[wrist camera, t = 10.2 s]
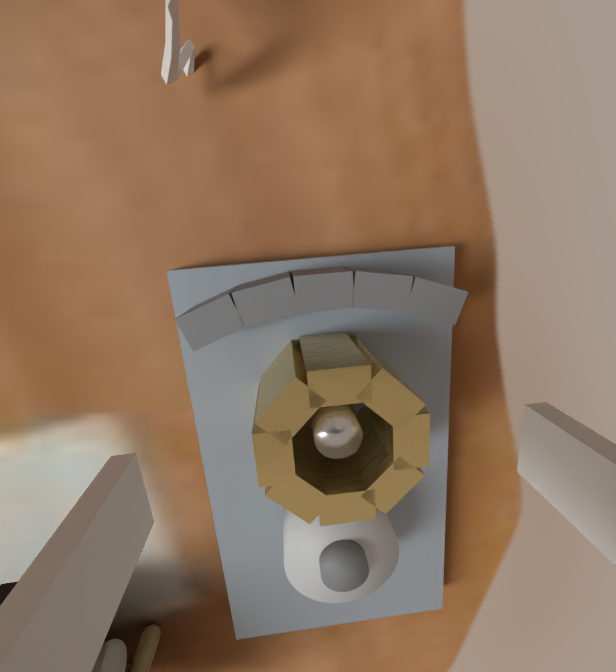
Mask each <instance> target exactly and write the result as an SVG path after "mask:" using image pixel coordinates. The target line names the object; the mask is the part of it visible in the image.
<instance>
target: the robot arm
mask: <svg viewBox="0 0 616 672" xmlns="http://www.w3.org/2000/svg"><path fill="white" fill-rule="evenodd" d="M517 472H518V473H519V474H520V475H521V476H522V477H523V478H525V479H526V480H527V481H528V482H529V483H530V484H531V485H532V486H533V487H534V488H535V489H536V490H537V491H538V492H539V493H540V494H541V495H542V496H543V497H544V498H545V499H546V500H547V501H549V502H550V503H551V504H552V505H553V506H554V507H555V508H556V509H557V510H558V511H559V512H560V513H561V514H562V515H563V516H564V517H565V518H566V519H567V520H569V522H571V524H573V525H574V526H575V527H576V528H577V529H578V530H579V531H580V532H581V533H582V534H583V535H584V536H585V537H586V538H587V539H588V540H589V541H590V542H591V543H592V544H593V545H595V547H597V548H598V549H599V550H600V551H601V552H602V553H603V554H604V555H605V556H606V557H607V558H608V559H609V560H610V561H611V562H612V563H613V564H614V565H615V566H616V444H614V443H613V442H611V441H609V440H608V439H606V438H604V437H603V436H601V435H599V434H598V433H596V432H594V431H593V430H591V429H590V428H587V427H586V426H584V425H583V424H581V423H579V422H578V421H576V420H575V419H573V418H571V417H570V416H568V415H566V414H565V413H563V412H561V411H560V410H558V409H556V408H555V407H553V406H551V405H550V404H548V403H546V402H543V403H535V404H527V405H525V410H524V418H523V426H522V434H521V443H520V451H519V459H518V467H517ZM153 523H154V520H153V516H152V512H151V509H150V505H149V501H148V497H147V493H146V490H145V486H144V482H143V478H142V474H141V471H140V467H139V463H138V459H137V455H136V453H133V454H125V455H117V456H111V457H110V458H109V460H108V461H107V462H106V464H105V465H104V466H103V468H102V469H101V470H100V472H99V473H98V475H97V476H96V477H95V479H94V480H93V481H92V483H91V484H90V485H89V487H88V488H87V489H86V491H85V492H84V493H83V495H82V496H81V497H80V499H79V500H78V502H77V503H76V504H75V506H74V507H73V508H72V510H71V511H70V512H69V514H68V515H67V516H66V518H65V519H64V520H63V522H62V523H61V524H60V526H59V527H58V529H57V530H56V531H55V533H54V534H53V535H52V537H51V538H50V539H49V541H48V542H47V543H46V545H45V546H44V547H43V549H42V550H41V551H40V553H39V554H38V556H37V557H36V558H35V560H34V561H33V562H32V564H31V565H30V566H29V568H28V569H27V570H26V572H25V573H24V574H23V576H22V577H21V578H20V580H19V581H18V582H13V583H6V584H2V585H0V672H91V671H92V669H93V667H94V664H95V662H96V659H97V657H98V655H99V652H100V650H101V648H102V645H103V643H104V640H105V638H106V636H107V633H108V631H109V628H110V626H111V624H112V621H113V619H114V616H115V614H116V612H117V609H118V607H119V605H120V602H121V600H122V597H123V595H124V593H125V590H126V588H127V585H128V583H129V581H130V578H131V576H132V573H133V571H134V569H135V566H136V564H137V561H138V559H139V557H140V554H141V552H142V550H143V547H144V545H145V542H146V540H147V538H148V535H149V533H150V530H151V528H152V526H153Z"/></svg>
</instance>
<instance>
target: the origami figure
mask: <svg viewBox="0 0 616 672" xmlns="http://www.w3.org/2000/svg"><path fill="white" fill-rule="evenodd" d="M178 1H179V0H166V43H165V50H164V57H163V64H162V71H161V75H162V77H163V79H164V81H165V83H166V85H168V84H170V83H173V82H175V81H177V80H178V78H179V76H180V74H181V73H182V71H183V70H184V72H185V74H186V76H189V75H191V74H193V73H194V59H195V47H194V45H193V44H192V42H191V41H190V39H188V41H187V42H186V43H185V44H184V46H183V47H182V48H181V49H180V34H179V11H178Z"/></svg>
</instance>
